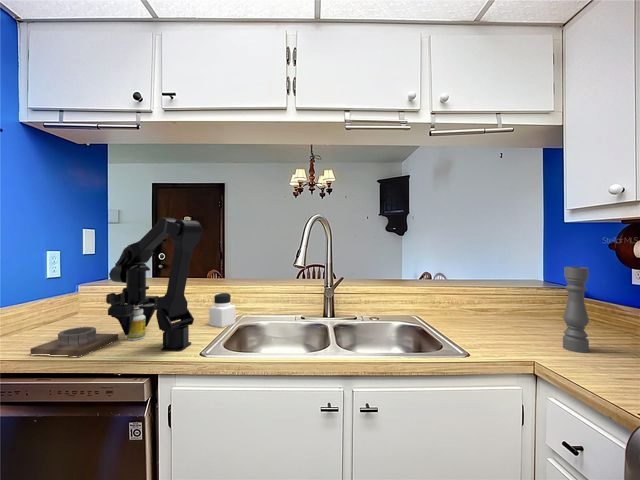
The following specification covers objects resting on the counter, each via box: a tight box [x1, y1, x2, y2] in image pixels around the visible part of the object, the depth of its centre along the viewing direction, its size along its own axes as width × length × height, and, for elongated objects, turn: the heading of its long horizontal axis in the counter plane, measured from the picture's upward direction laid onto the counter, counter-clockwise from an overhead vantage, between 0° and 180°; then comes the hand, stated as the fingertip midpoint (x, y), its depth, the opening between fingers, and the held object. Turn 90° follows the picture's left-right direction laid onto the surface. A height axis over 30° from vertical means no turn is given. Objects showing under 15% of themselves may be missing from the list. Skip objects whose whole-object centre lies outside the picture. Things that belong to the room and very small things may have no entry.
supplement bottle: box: [126, 307, 146, 341], centre depth 105 cm, size 5×5×10 cm
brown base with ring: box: [30, 326, 119, 356], centre depth 96 cm, size 15×15×5 cm
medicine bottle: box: [208, 292, 236, 329], centre depth 122 cm, size 7×7×12 cm
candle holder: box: [562, 266, 590, 354], centre depth 96 cm, size 6×6×25 cm
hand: (136, 330), depth 105 cm, fingers open, 9 cm apart
